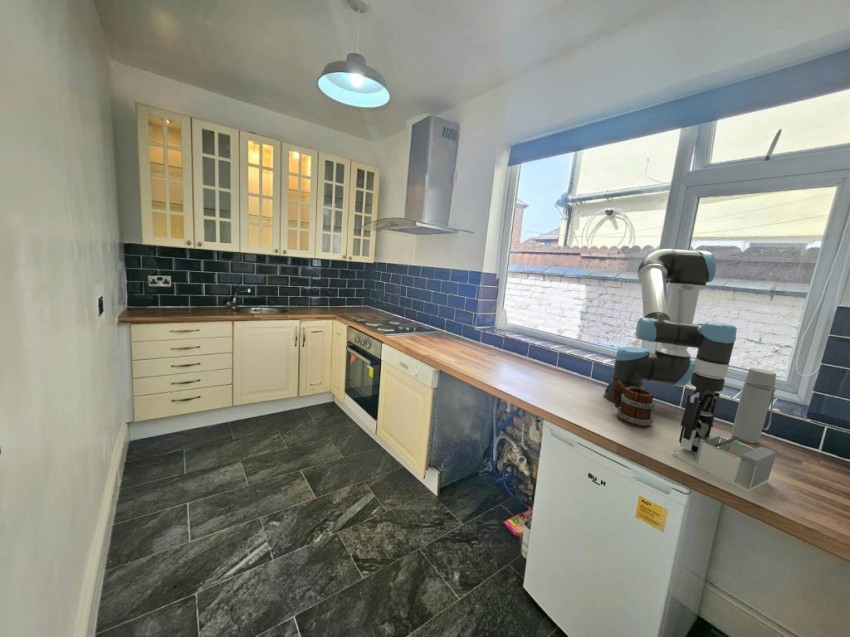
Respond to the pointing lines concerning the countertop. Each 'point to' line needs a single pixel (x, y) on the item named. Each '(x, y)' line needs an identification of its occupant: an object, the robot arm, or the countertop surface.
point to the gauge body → (733, 463)
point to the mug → (634, 405)
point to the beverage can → (700, 429)
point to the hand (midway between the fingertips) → (692, 446)
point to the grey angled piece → (714, 443)
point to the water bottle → (754, 405)
